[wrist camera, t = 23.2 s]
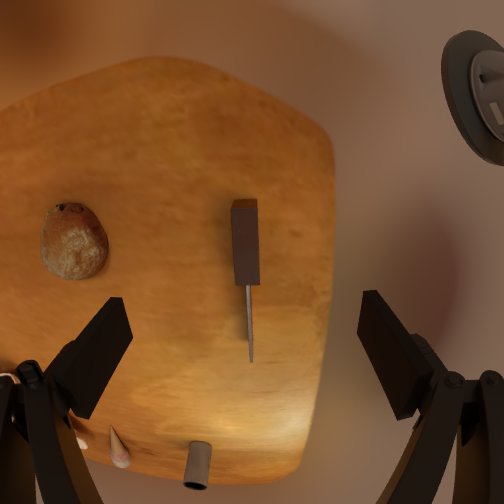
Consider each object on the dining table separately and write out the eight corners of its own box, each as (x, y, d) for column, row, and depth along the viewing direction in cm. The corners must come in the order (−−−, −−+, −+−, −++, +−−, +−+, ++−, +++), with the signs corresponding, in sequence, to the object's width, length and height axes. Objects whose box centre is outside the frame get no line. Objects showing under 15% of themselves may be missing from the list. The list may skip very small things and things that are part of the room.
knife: (234, 199, 31) (230, 208, 26) (257, 198, 31) (257, 207, 26) (242, 341, 38) (241, 365, 33) (261, 340, 38) (261, 365, 33)
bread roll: (74, 257, 38) (57, 299, 32) (39, 206, 30) (12, 247, 25) (125, 245, 37) (111, 290, 31) (90, 185, 30) (64, 227, 24)
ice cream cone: (100, 418, 48) (113, 459, 50) (100, 431, 44) (115, 472, 45) (119, 417, 50) (130, 458, 52) (121, 430, 46) (133, 471, 48)
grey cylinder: (185, 443, 48) (177, 483, 38) (201, 438, 47) (194, 480, 37) (200, 452, 49) (194, 491, 39) (216, 448, 48) (212, 488, 38)
